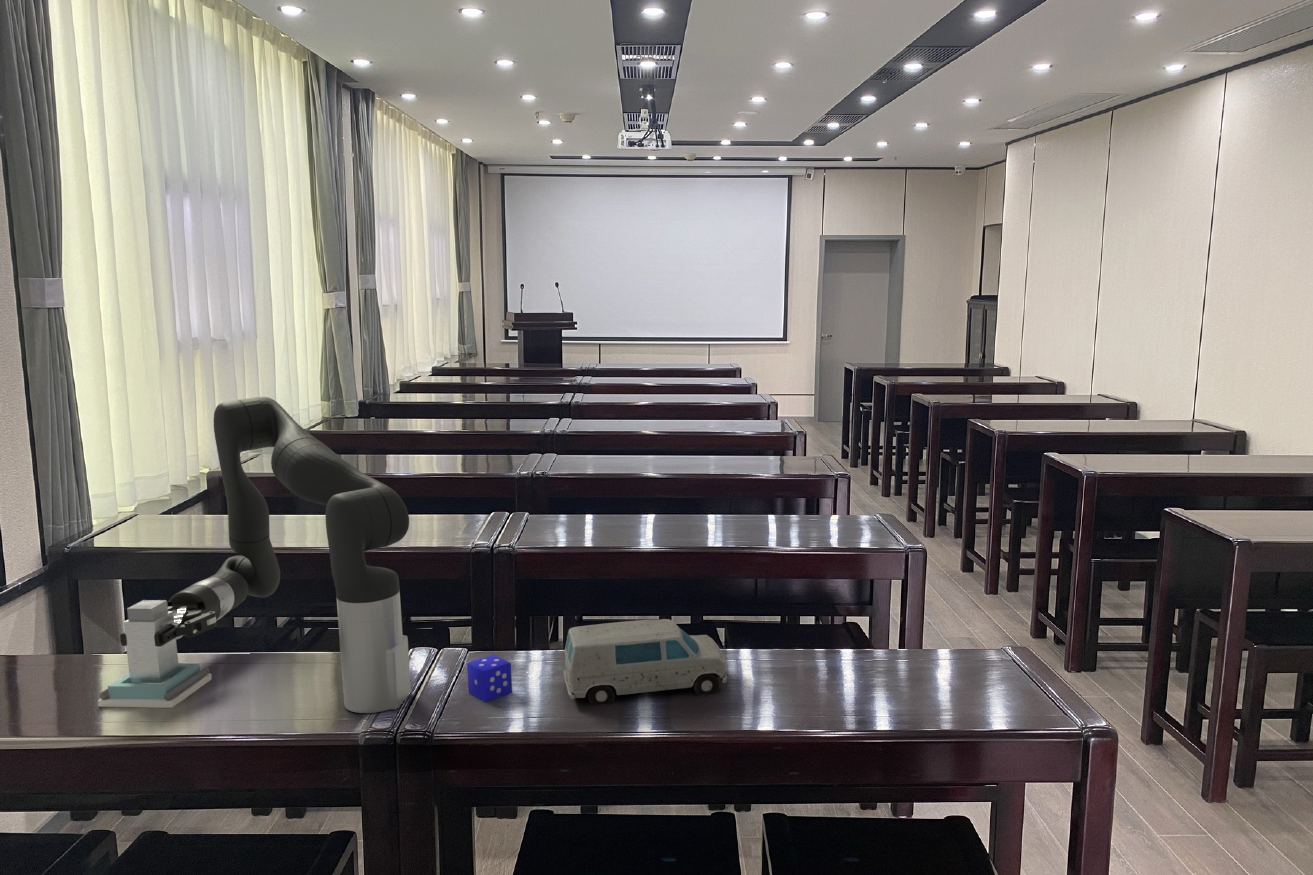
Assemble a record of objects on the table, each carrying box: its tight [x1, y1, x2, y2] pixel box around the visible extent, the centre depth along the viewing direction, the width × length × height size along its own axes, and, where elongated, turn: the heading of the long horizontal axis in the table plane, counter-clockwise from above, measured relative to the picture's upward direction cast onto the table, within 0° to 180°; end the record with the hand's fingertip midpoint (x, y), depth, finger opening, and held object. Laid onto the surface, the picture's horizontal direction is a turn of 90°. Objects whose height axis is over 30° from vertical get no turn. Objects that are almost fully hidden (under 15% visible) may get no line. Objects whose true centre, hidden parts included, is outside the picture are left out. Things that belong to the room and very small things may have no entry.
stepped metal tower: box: [123, 599, 179, 683], centre depth 149 cm, size 5×5×12 cm
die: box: [466, 654, 513, 702], centre depth 147 cm, size 5×5×5 cm
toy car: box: [563, 618, 728, 706], centre depth 148 cm, size 11×25×10 cm, turn 101°
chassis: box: [97, 662, 213, 709], centre depth 150 cm, size 12×11×3 cm
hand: (140, 640), depth 147 cm, fingers closed on stepped metal tower, 5 cm apart
